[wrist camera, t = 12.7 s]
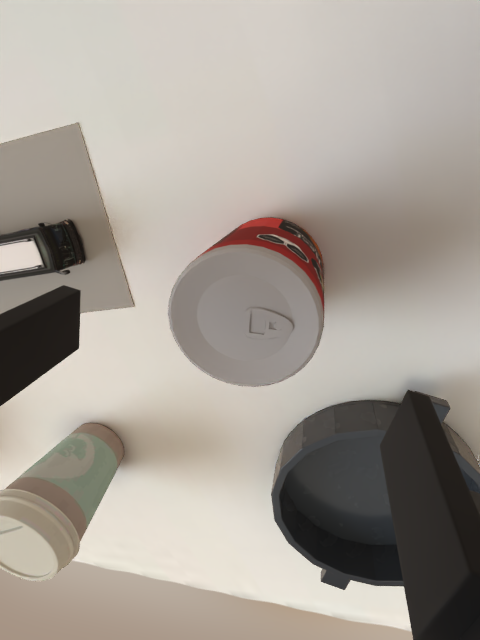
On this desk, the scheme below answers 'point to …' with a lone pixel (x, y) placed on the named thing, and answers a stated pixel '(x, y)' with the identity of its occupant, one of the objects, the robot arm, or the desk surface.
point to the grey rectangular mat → (55, 224)
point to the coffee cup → (56, 502)
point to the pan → (347, 491)
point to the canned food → (251, 304)
